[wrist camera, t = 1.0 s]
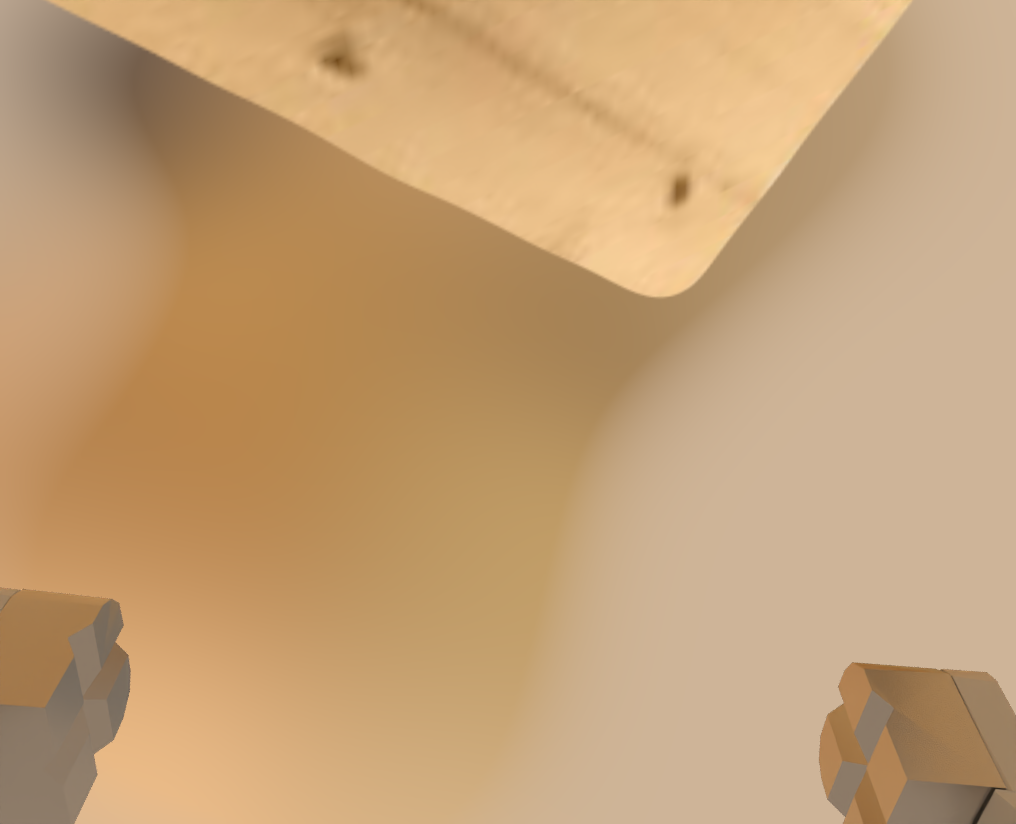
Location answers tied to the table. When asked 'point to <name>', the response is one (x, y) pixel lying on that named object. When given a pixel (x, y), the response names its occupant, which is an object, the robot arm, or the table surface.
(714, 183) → the table surface
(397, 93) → the table surface
